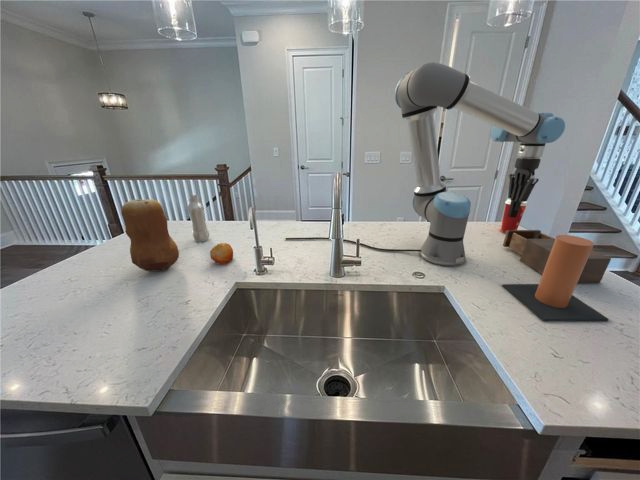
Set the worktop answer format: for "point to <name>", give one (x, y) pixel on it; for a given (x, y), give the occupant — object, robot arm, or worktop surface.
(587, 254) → the orange tall cylinder
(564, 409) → the worktop surface
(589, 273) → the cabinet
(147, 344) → the worktop surface
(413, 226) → the worktop surface
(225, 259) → the fruit
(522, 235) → the drawer
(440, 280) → the worktop surface
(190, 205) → the plastic bottle
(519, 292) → the mat
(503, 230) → the coffee cup
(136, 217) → the butternut squash
